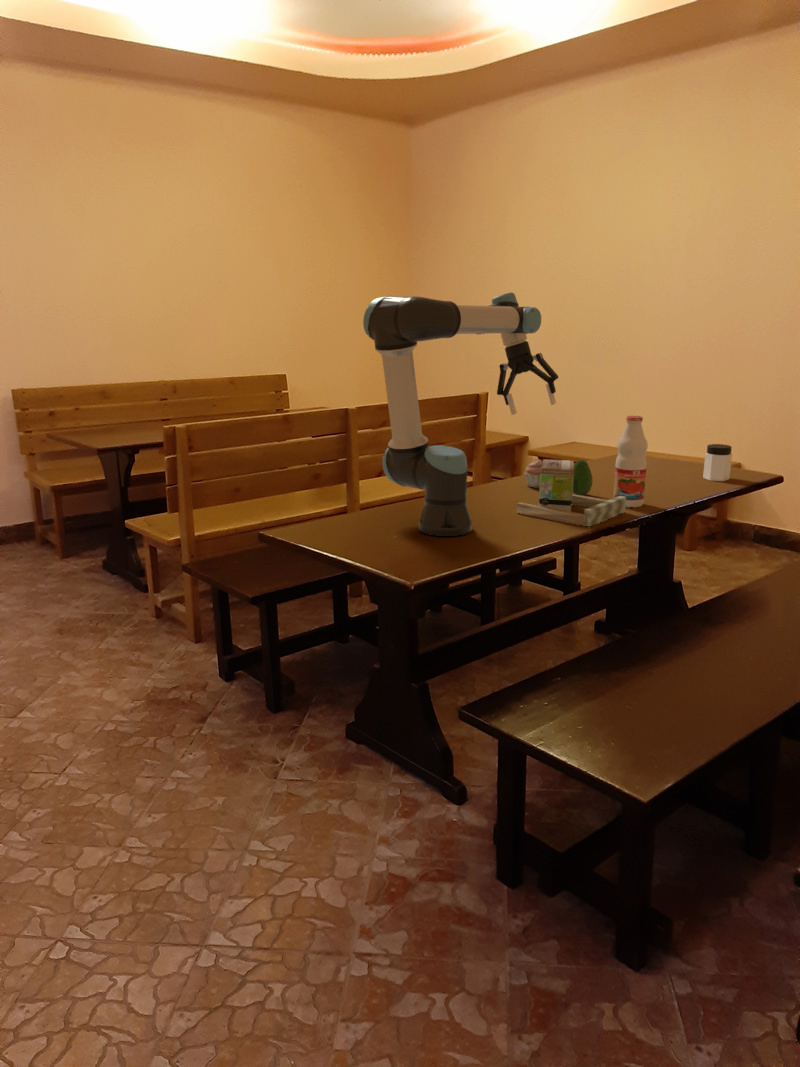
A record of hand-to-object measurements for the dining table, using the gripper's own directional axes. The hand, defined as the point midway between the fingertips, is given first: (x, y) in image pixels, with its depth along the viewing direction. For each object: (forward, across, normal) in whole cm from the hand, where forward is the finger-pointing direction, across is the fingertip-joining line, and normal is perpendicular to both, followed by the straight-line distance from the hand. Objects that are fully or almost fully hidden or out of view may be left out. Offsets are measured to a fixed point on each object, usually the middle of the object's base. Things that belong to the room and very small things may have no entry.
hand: (533, 409), depth 264 cm
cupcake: (+28, +13, -16) cm, 35 cm away
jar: (+47, -38, -56) cm, 83 cm away
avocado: (+33, -4, -10) cm, 34 cm away
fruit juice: (+38, -20, -5) cm, 43 cm away
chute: (+32, -8, +14) cm, 36 cm away
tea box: (+31, -3, +12) cm, 34 cm away
